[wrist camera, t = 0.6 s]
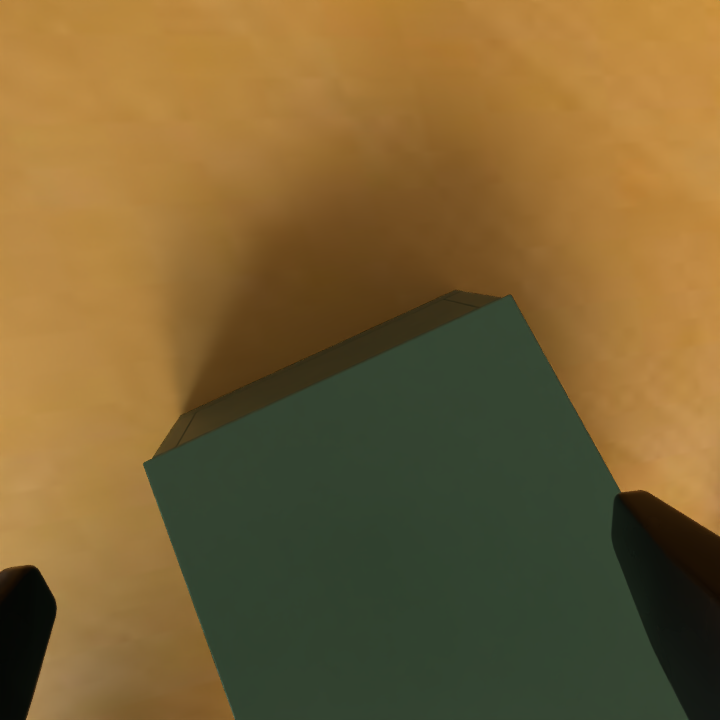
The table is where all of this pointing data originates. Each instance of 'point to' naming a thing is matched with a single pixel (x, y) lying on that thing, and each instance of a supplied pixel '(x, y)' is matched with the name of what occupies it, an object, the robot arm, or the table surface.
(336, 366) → the toy chest
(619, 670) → the lid
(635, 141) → the table surface
